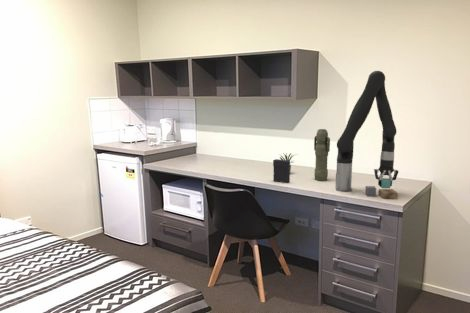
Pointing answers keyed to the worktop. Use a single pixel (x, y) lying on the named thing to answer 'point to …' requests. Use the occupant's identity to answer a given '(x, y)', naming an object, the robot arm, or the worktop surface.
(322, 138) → the olive green figurine
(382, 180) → the teal cube
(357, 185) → the worktop surface
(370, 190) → the charcoal cube
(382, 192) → the brown square block
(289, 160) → the house plant
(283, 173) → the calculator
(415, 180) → the worktop surface
